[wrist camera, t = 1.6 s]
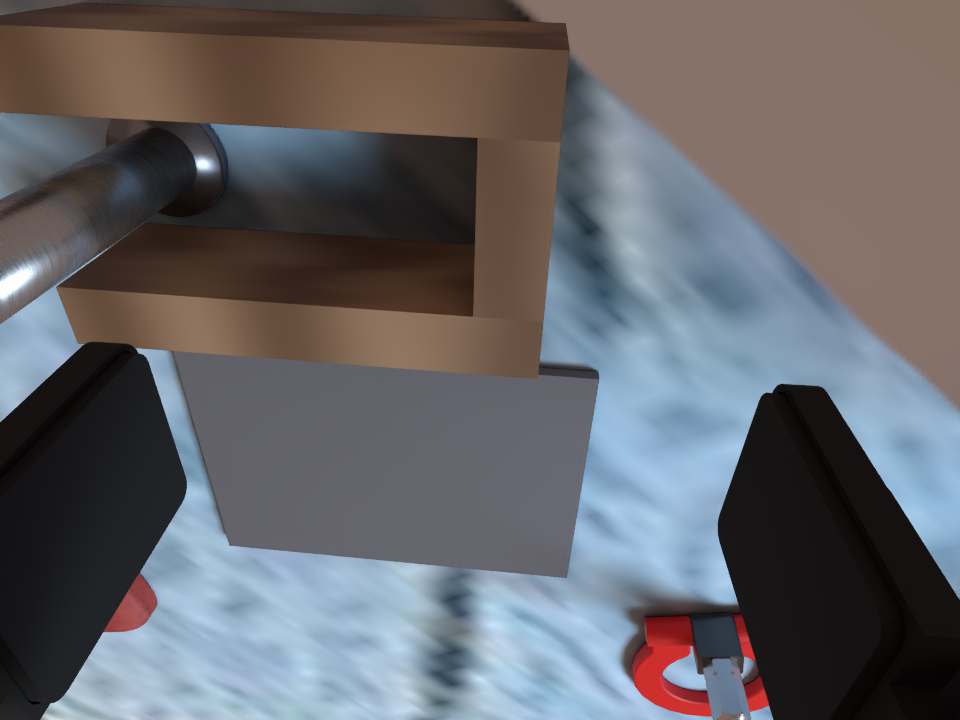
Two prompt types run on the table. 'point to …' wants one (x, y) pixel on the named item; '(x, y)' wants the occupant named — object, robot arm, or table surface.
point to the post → (104, 202)
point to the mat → (394, 460)
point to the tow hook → (699, 665)
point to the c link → (327, 106)
